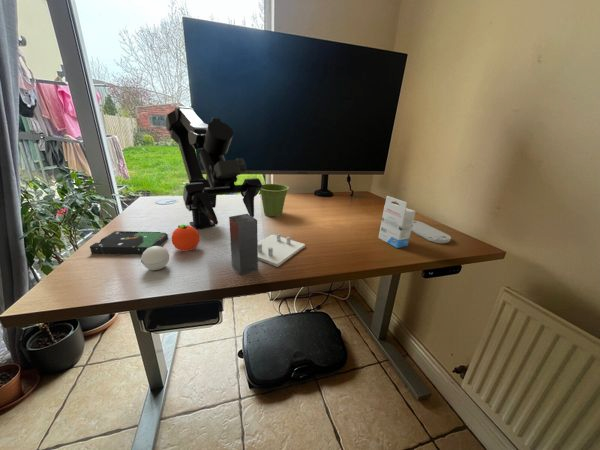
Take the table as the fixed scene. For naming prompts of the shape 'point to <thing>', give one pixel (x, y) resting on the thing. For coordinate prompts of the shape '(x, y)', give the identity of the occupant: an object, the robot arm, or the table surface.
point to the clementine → (185, 238)
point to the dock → (277, 249)
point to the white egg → (155, 257)
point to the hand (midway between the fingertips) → (235, 220)
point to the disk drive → (128, 242)
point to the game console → (430, 233)
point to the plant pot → (273, 198)
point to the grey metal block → (244, 243)
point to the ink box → (396, 223)
